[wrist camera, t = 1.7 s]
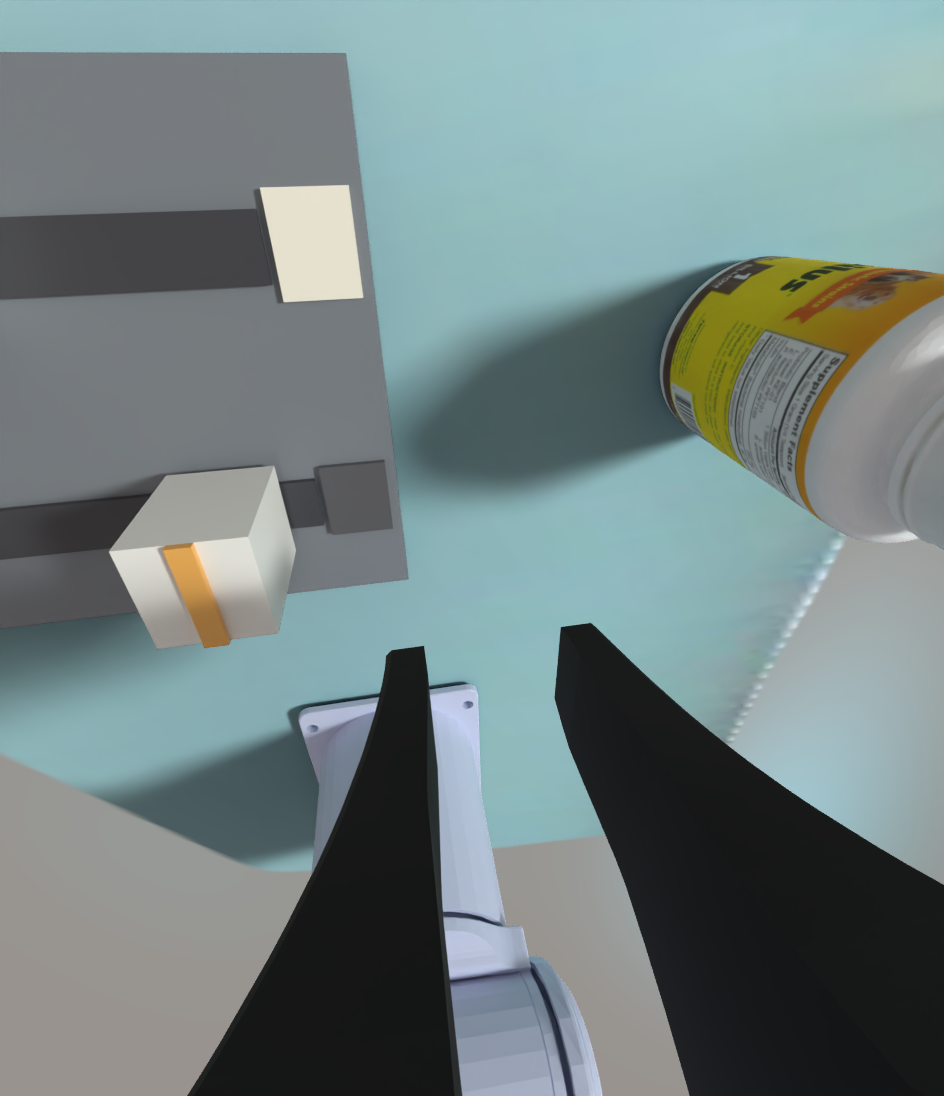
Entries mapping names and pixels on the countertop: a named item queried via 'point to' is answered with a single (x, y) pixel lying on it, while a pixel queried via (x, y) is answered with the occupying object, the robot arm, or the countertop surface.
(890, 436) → the supplement bottle
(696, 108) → the countertop surface
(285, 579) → the toggle
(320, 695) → the countertop surface
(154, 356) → the switch unit
